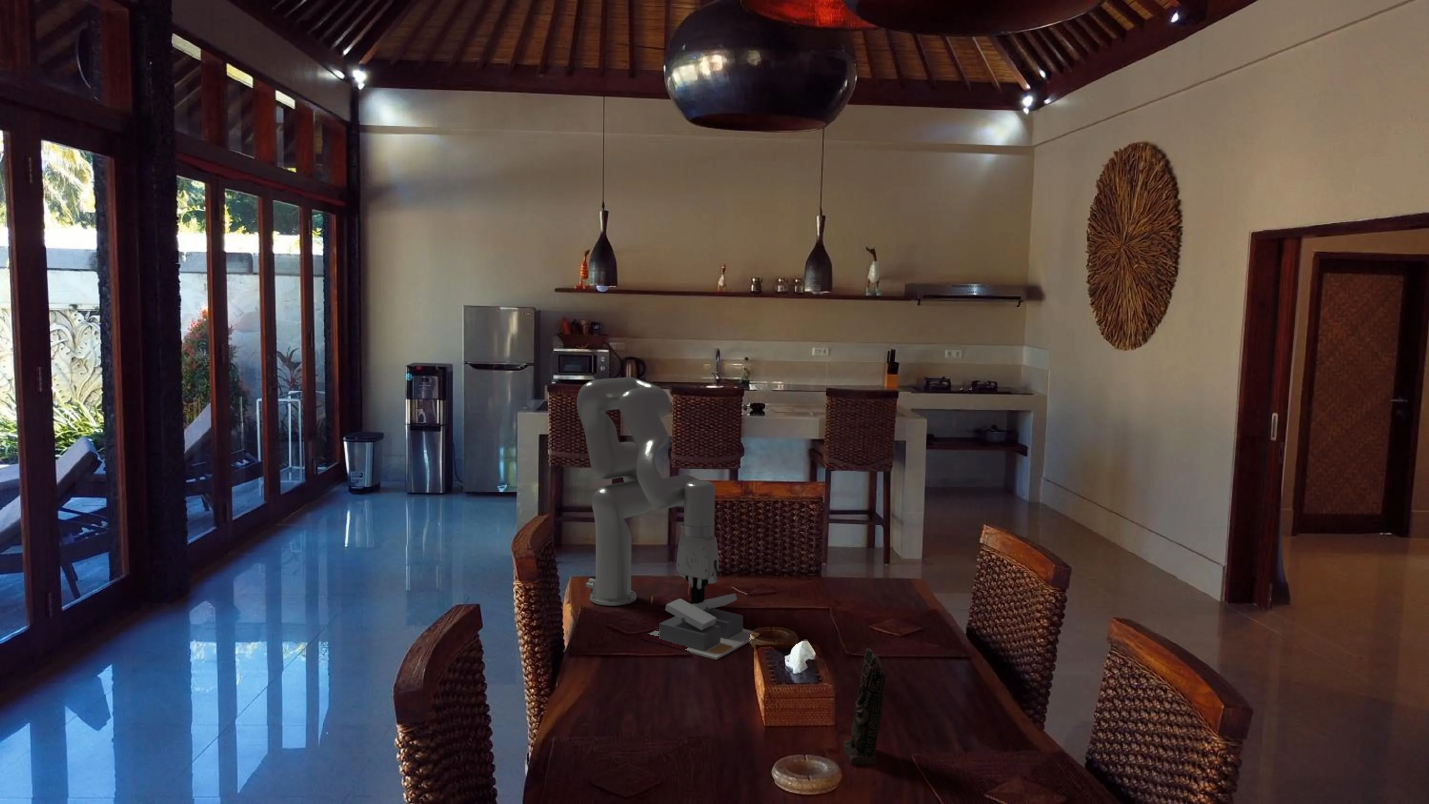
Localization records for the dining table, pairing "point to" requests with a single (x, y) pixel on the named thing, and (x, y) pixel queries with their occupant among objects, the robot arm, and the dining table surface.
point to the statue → (867, 712)
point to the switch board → (707, 634)
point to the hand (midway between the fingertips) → (697, 602)
